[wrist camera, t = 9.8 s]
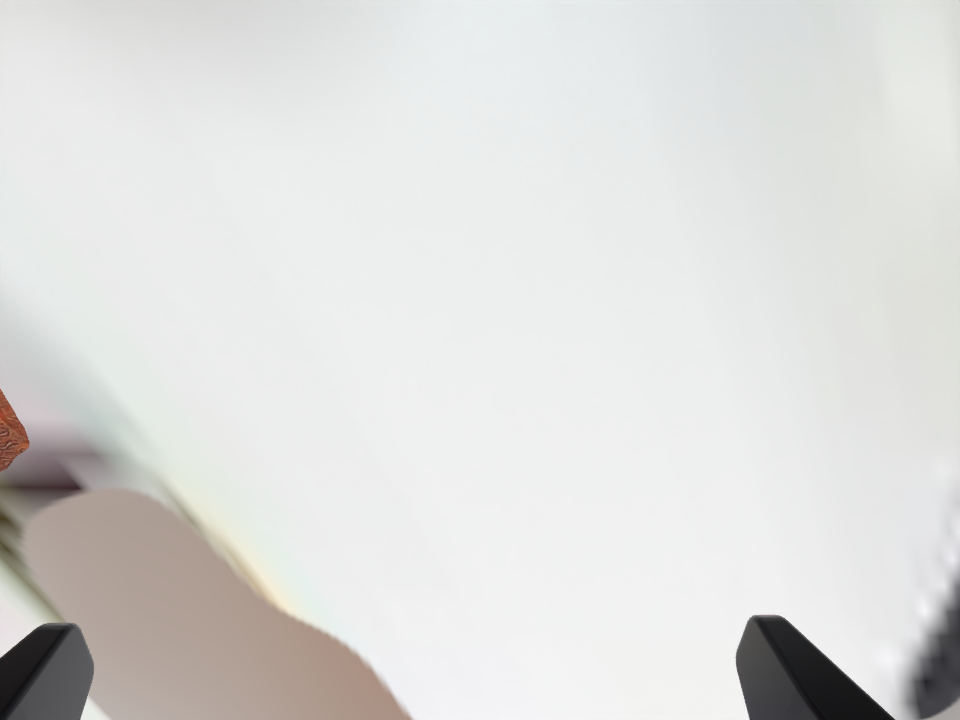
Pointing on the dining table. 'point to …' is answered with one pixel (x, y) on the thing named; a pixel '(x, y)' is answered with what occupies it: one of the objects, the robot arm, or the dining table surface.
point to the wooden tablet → (10, 434)
